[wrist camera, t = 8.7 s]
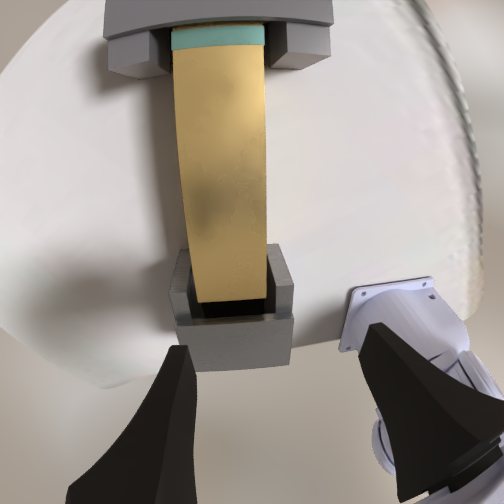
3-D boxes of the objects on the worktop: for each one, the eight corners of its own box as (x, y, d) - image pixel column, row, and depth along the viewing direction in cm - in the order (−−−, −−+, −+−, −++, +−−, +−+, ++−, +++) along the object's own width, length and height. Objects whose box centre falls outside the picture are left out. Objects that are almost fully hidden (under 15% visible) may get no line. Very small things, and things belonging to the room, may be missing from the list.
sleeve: (278, 243, 20) (296, 291, 15) (276, 317, 23) (288, 368, 18) (179, 250, 19) (167, 299, 14) (193, 323, 23) (189, 376, 18)
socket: (299, 15, 12) (330, -17, 7) (302, 69, 14) (335, 54, 9) (138, 24, 11) (106, -4, 7) (138, 79, 13) (102, 68, 8)
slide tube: (253, 39, 13) (263, 17, 9) (258, 259, 20) (267, 298, 16) (184, 44, 12) (171, 22, 9) (201, 263, 20) (197, 303, 16)
